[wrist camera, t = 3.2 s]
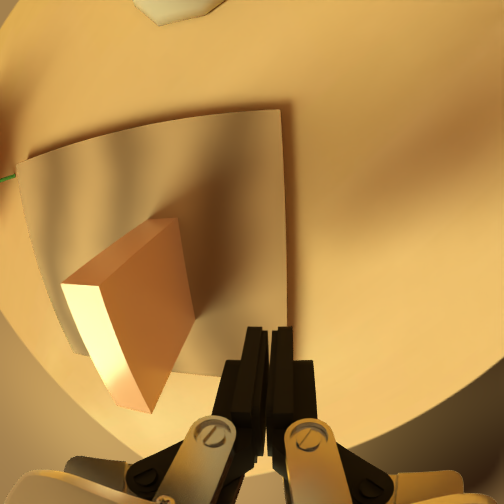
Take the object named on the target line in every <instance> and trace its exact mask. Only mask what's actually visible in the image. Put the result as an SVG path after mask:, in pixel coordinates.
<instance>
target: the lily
mask: <svg viewBox="0 0 504 504" xmlns="http://www.w3.org/2000/svg"><path fill="white" fill-rule="evenodd" d="M14 177H15V174H13V175H10V176H7V177H4V178H1V179H0V182H3V181H5V180H8V179H11V178H14Z"/></svg>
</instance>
